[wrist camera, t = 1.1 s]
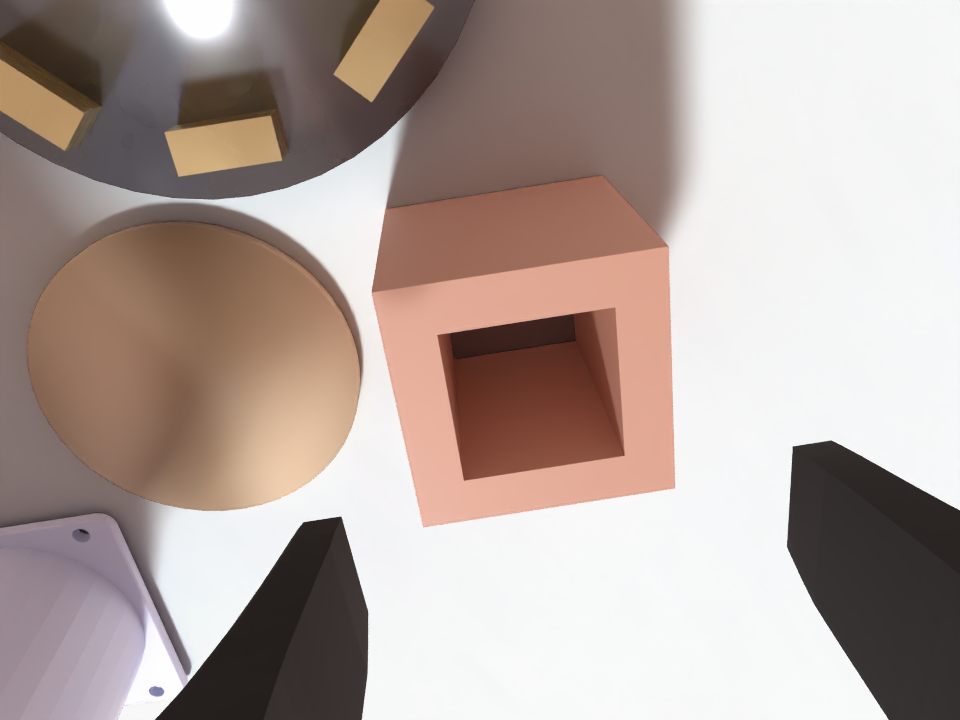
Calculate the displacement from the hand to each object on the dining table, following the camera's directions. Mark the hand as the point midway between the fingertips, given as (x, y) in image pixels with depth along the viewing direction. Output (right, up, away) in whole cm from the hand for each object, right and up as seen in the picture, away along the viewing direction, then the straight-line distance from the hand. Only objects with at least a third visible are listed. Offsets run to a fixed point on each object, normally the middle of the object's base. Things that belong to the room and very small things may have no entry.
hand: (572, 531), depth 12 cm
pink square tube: (-1, +5, +9) cm, 10 cm away
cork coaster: (-9, +2, +10) cm, 14 cm away
